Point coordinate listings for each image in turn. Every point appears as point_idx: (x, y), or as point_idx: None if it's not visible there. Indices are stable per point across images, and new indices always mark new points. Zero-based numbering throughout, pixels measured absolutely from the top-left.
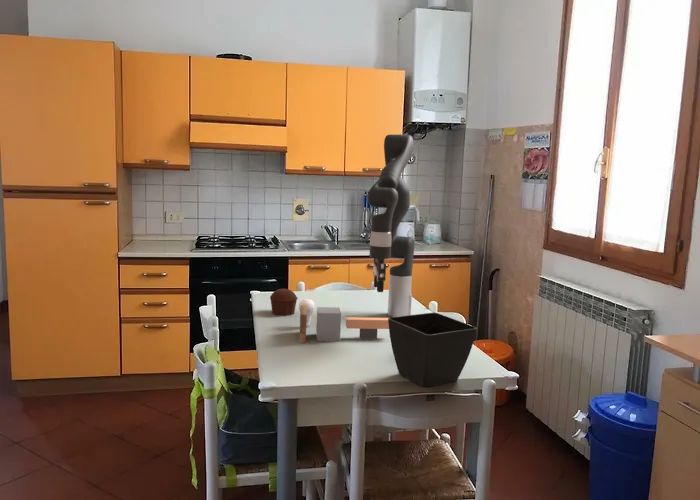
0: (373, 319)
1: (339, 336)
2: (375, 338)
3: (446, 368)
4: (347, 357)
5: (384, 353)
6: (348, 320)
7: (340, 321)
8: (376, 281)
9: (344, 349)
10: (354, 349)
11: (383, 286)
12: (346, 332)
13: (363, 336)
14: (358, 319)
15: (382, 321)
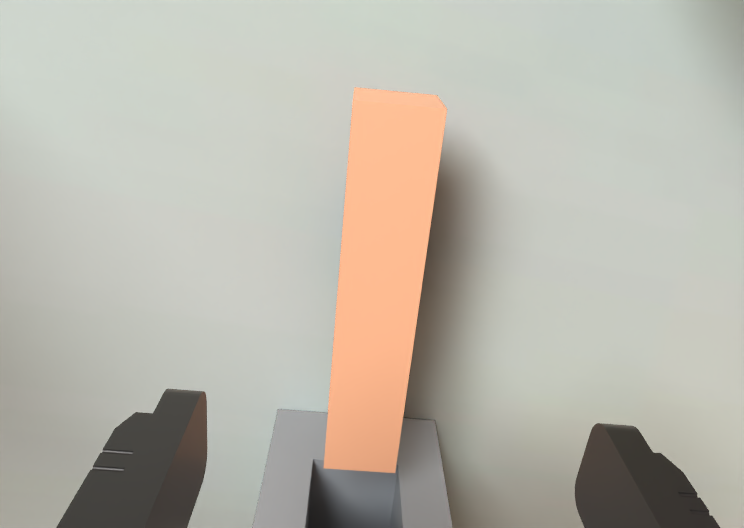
0: (403, 280)
1: (436, 444)
2: None
3: None
4: (736, 426)
5: (734, 212)
6: (396, 460)
7: (451, 521)
8: (176, 519)
9: (594, 419)
10: (606, 370)
11: (678, 492)
12: (234, 356)
13: None
14: (397, 398)
15: (433, 200)
